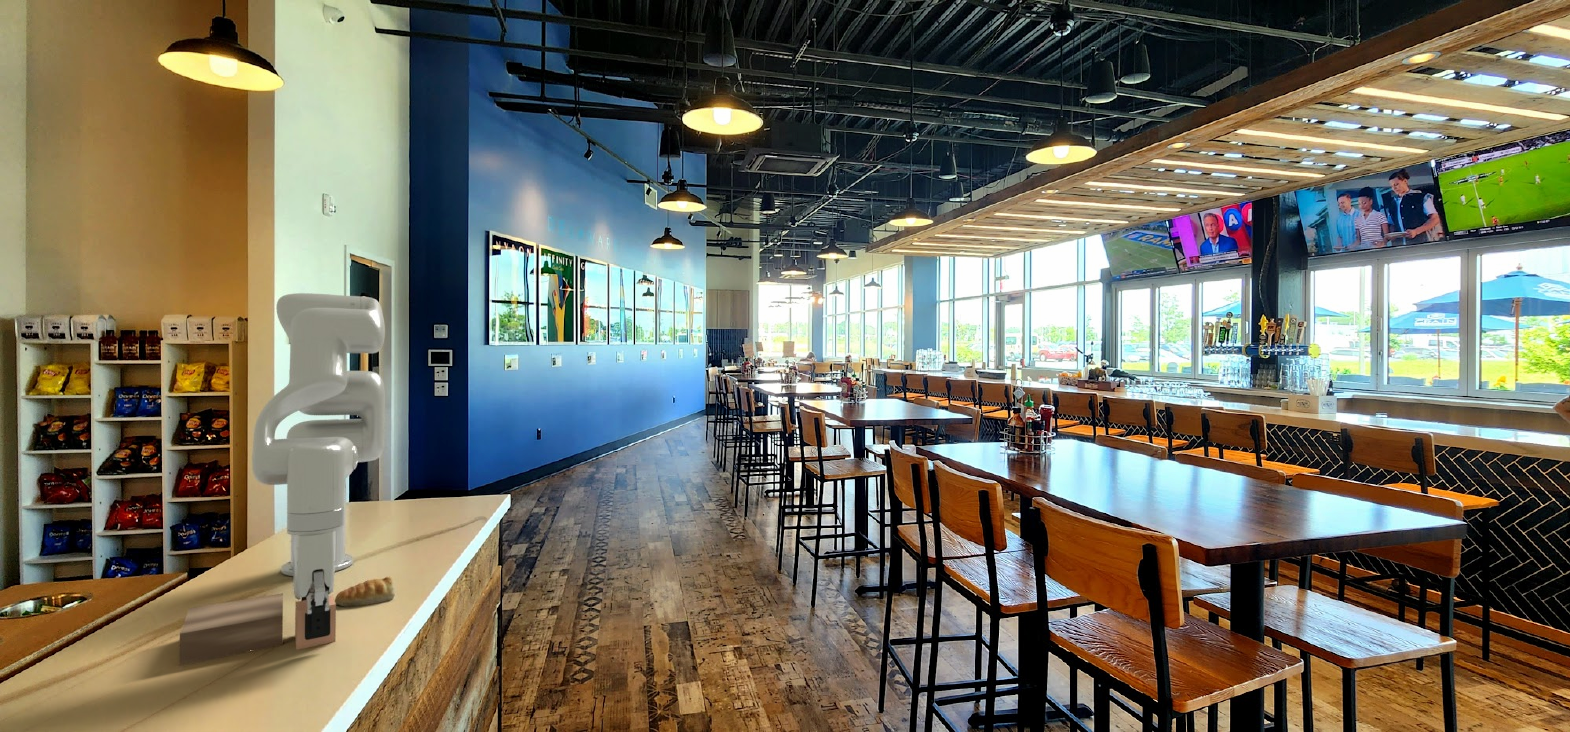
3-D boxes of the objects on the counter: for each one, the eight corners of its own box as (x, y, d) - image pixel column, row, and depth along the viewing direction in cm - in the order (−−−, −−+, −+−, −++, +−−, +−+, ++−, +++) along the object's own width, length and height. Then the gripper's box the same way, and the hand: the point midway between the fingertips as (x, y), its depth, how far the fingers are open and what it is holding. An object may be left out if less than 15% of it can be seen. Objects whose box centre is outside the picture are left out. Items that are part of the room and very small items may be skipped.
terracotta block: (295, 639, 106) (295, 601, 106) (332, 631, 109) (333, 595, 109) (296, 650, 102) (296, 611, 102) (335, 641, 105) (335, 604, 105)
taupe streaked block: (188, 639, 106) (189, 608, 106) (282, 622, 113) (282, 593, 113) (179, 667, 96) (179, 633, 96) (282, 647, 104) (282, 615, 104)
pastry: (337, 612, 117) (337, 591, 117) (332, 602, 123) (332, 581, 123) (397, 600, 124) (397, 580, 124) (390, 591, 129) (390, 571, 129)
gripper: (284, 513, 110) (284, 616, 110) (289, 535, 96) (288, 652, 96) (339, 508, 114) (338, 606, 114) (350, 527, 101) (349, 639, 101)
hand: (315, 627), depth 105 cm, fingers open, 9 cm apart
